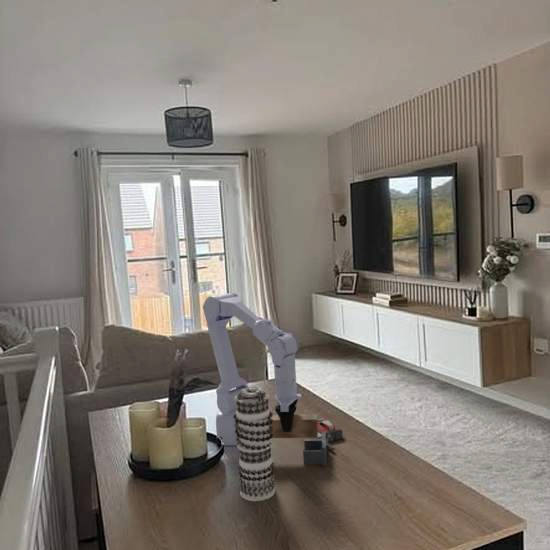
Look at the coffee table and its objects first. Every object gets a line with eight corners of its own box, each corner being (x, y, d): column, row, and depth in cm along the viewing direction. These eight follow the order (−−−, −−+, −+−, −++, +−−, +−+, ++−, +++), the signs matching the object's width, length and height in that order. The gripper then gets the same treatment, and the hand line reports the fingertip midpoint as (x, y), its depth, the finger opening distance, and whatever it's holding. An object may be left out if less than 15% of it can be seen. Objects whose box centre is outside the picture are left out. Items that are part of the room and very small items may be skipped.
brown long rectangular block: (258, 438, 138) (257, 420, 138) (259, 432, 142) (258, 415, 141) (317, 437, 137) (316, 419, 136) (317, 431, 140) (316, 414, 140)
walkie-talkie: (298, 430, 159) (330, 455, 141) (298, 416, 159) (329, 439, 140) (323, 425, 163) (357, 448, 144) (323, 411, 162) (357, 433, 144)
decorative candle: (272, 503, 117) (266, 397, 115) (233, 500, 119) (227, 396, 117) (280, 483, 126) (274, 384, 124) (244, 481, 128) (238, 384, 126)
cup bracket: (303, 466, 135) (302, 447, 134) (304, 449, 144) (304, 432, 144) (326, 466, 134) (325, 447, 134) (326, 449, 144) (325, 432, 143)
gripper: (298, 387, 130) (301, 439, 131) (301, 371, 145) (303, 418, 146) (271, 388, 131) (274, 439, 132) (276, 372, 145) (279, 418, 147)
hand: (287, 428), depth 139 cm, fingers closed on brown long rectangular block, 4 cm apart
